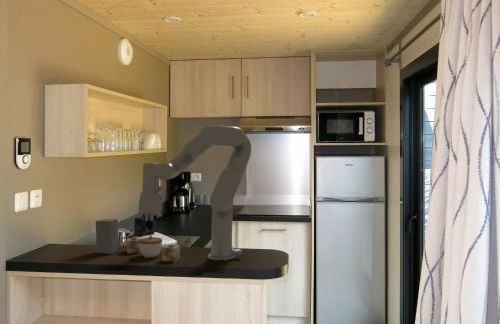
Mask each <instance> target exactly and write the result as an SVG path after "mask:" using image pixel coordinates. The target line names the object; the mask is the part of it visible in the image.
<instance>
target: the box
mask: <svg viewBox="0 0 500 324" xmlns="http://www.w3.org/2000/svg"><path fill="white" fill-rule="evenodd" d="M149 218H150V219H151V215H149ZM133 227H134V229H133V235H134V236H137V237H140V238H143V237H147V236H152V235H155V227H156V219H155V220H154V226H153V228H152V229H151V230H147V228H146V220H145V219H144V218H143V217H141V216H138V217H134V226H133Z"/></svg>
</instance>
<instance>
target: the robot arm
mask: <svg viewBox="0 0 500 324" xmlns="http://www.w3.org/2000/svg"><path fill="white" fill-rule="evenodd" d="M214 146H226V147H227V146H229V147H232V152H231V154H230V156H229V159H228V162H227V165H226V166H225V168H224V169H223V170H222V171H221V172H220V175H219V176H218V178H217V180H216V183H215V186H214V188H213V190H212V193H211V195H210V198H209V204H210V207H211V243H210V244H211V245H210V246H211V247H210V248H211V250H210V253H208V255H207V258H208V259H209V260H212V261H220V260H223V261H230V260H229V259H231V260H233V258H234V259H235V258H236V255H242V249H234V246H233V220H234V218H233V215H234V213H233V212H234V199H235V196H236V193H237V191H238V190H239V189H238V188H239V187H240V184H241V183H242V179H243V176H244V174H245V172H246V168H247V166H248V164H249V162H250V158H251V156H252V144H251V141H250V139H249V137H248V135H247V134H246V133H245V132H244V130H243V129H242V128H240V127H237V126H225V125H211V124H209V125H204V126H203V127H202V128H201V129H200V132H199V133H198V134H197V135H196V136H195V137H193V138H192V139H191V140H190V141H188V142H187V143H186V144H185V145H184V146H183V148H182V149H181V151H180V152H179V153H178V154H177V155H176V156H175V157H174V158H173V159H171V160H170V161H169V162H163V163H157V162H145V163H144V164H142V165H143V166H142V188H141V189H142V191H141V192H140V196H139V200H138V217H143V218H144V219H145V220H146V228H147V230H151V229H152V228H153V226H154V220H155V221H156V219H157V218H161V217H163V214H162V213H163V199H162V198H163V197H162V193H161V192H160V191H163V187H161V186H160V179H161V180H171V179H174V178H176V177H177V176H179V175H180V174H181V173H182V172H184V171H185V170H186V169H187V168H188V167H190V166H191V165H192V164H193V163H194V162H196V161H197V160H199V158H201V156H203V155H204V154H205V153H207V151H209V150H210V149H212V148H213V147H214ZM149 216H151V219H150V218H149Z"/></svg>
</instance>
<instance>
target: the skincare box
mask: <svg viewBox="0 0 500 324" xmlns="http://www.w3.org/2000/svg"><path fill="white" fill-rule="evenodd" d="M118 223H119V221H118V218H101V219H97V220H95V235H96V236H95V238H96V239H95V240H96V253H97V254H109V255H110V254H114V253H117V252H119V251H120V246H119V245H120V243H119V240H120V239H119V224H118Z"/></svg>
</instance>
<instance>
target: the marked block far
mask: <svg viewBox="0 0 500 324" xmlns="http://www.w3.org/2000/svg"><path fill="white" fill-rule="evenodd" d="M141 238H142V237H135V238H134V237H133V238H132V237H131V238H129V237H128V238H127V243H126V244H127V247H126V249H127V250H126V253H127V254H141V253H140V250H139V242H138V240H139V239H141Z"/></svg>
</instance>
